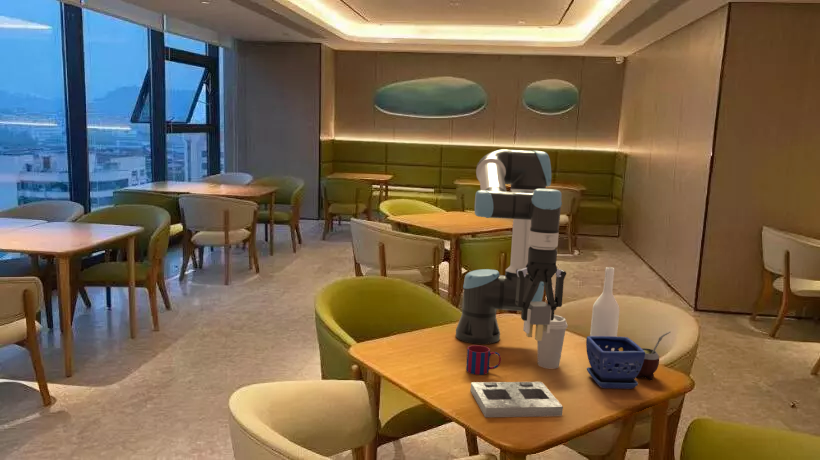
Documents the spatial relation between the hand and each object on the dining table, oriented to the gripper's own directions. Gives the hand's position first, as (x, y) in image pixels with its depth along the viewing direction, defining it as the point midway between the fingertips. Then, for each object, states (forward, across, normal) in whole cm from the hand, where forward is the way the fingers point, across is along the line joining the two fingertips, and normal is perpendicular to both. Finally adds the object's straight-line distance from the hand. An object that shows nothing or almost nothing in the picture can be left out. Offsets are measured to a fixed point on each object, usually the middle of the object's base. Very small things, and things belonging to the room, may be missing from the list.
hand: (536, 331), depth 174 cm
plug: (+2, 0, 0) cm, 2 cm away
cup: (+17, -9, +15) cm, 25 cm away
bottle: (+17, +32, +23) cm, 43 cm away
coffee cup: (+17, +13, +20) cm, 29 cm away
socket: (+17, -7, -7) cm, 20 cm away
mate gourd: (+17, +39, +9) cm, 44 cm away
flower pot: (+17, +26, +5) cm, 32 cm away
